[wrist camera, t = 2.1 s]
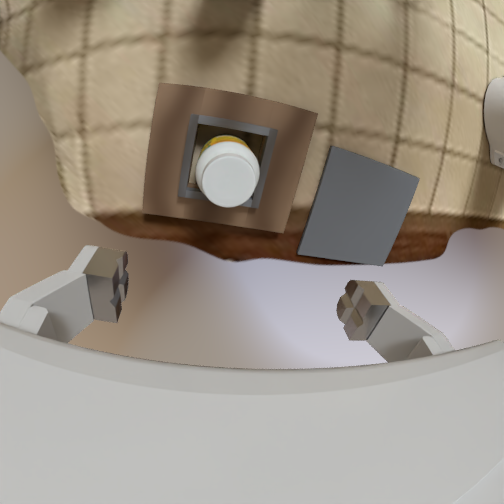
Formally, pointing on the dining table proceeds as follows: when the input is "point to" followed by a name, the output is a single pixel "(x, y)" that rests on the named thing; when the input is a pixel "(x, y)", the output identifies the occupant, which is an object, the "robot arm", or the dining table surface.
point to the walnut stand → (234, 117)
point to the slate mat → (357, 209)
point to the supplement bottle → (227, 171)
